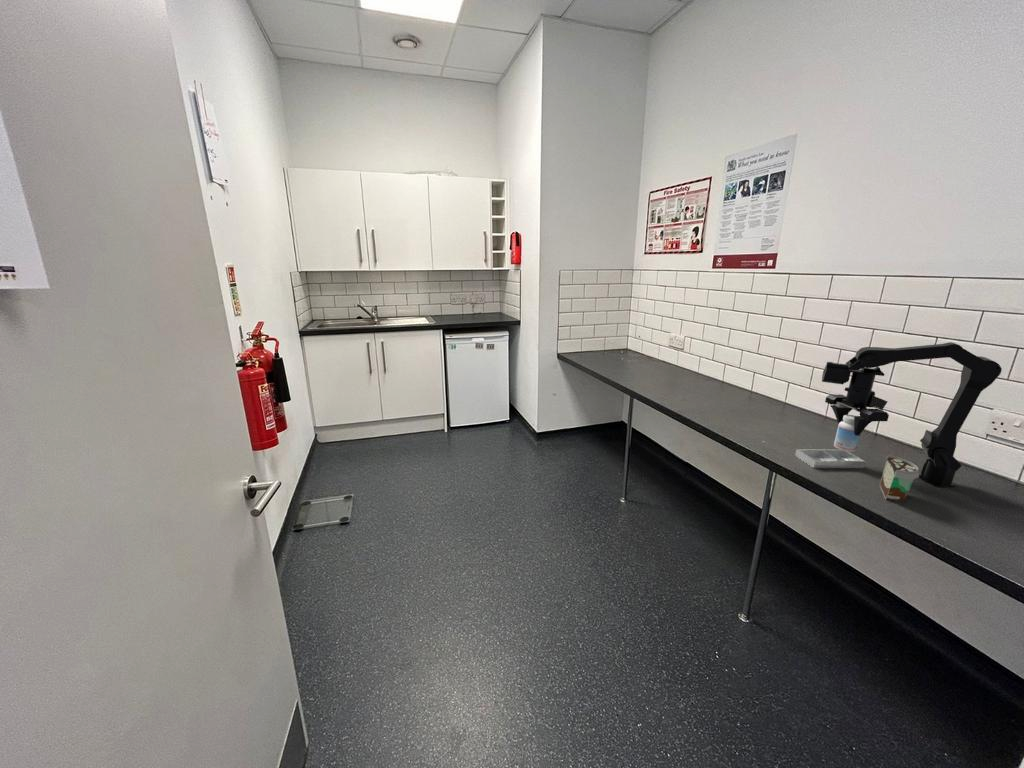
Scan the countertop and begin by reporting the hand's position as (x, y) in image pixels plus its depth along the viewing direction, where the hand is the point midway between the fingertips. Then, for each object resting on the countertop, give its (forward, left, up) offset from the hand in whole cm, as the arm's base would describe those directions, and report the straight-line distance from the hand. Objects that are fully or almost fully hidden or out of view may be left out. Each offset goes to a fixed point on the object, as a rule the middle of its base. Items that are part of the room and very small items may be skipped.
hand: (848, 431), depth 138 cm
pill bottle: (0, 0, -6) cm, 6 cm away
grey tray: (0, +4, -11) cm, 12 cm away
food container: (-21, 0, -12) cm, 24 cm away
